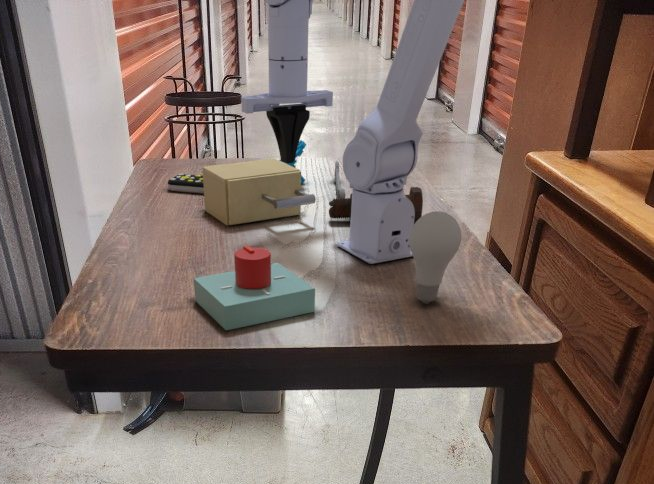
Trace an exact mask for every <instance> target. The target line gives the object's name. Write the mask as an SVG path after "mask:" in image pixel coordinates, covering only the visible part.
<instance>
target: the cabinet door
mask: <svg viewBox="0 0 654 484" xmlns="http://www.w3.org/2000/svg"><path fill="white" fill-rule="evenodd" d="M301 175H302V171H301V170H300V171H297V172H289V173H281V174H273V175H265V176H257V177H249V178H241V179H233V180H227V185H228V206H229V224H230V225H229V226H233V224H234V225H241V224H247V223H252V222H253V221H254V222H259V221H266V219H267V220H271V219H272V220H273V219H280V218H286V217H291V216H292V215H293V216H299V215H301V213H302V211H301V210H302V206H307V205H313V204H315V203H316V200H317V199H316V195H315V194H314V193H312V194H309V193H307V192H305V191H303V190H302V184H301ZM279 217H280V218H279ZM246 222H247V223H246Z"/></svg>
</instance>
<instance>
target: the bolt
mask: <svg viewBox="0 0 654 484" xmlns="http://www.w3.org/2000/svg"><path fill="white" fill-rule="evenodd" d="M349 196H350V197H345V198H342V199H341V198H340V199H339V198H338V199H337V197H336V198H335V197H334V198H333V199H332V200H331V201H329V202H328V205H329V207H330V208H329V209H328V216H329V218H331V219H334V220H337V219H339V220H340V219H341V220H342V219H349V222H350V221H351V205H352V192H351V193H350V195H349ZM405 196H406V197H407V198H408V199H409V200H410V201H411V202H412V204H413V206H414V210H415V218H414V224H415V223H416V221H417V220H418V219H419V218H420V217H422V216H423V215H422V214H423V207H424V204H423V203H424V197H423V190H422V188H420V187H418V186H410V188H409V194H405Z"/></svg>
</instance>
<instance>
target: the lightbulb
mask: <svg viewBox="0 0 654 484" xmlns="http://www.w3.org/2000/svg"><path fill="white" fill-rule="evenodd" d="M461 242H462V230H461V226H460V224H459V222H458V221H457V219H456V218H454V217H453V216H452V215H451V214H450V213H447V212H445V211H439V210H437V211H435V210H434V211H430V212H427V213H425V214H423V215H422V216H421V217H420V218H419V219H418V220H417V221H416V223H415V224H414V225H413V227H412V230H411V233H410V236H409V245H410V249H411V252H412V255H413V256H412V258H413V260H414V263H415V267H416V269H415V270H416V277H415V278H416V280H415V281H416V282H417V287H416V288H417V289H416V298H417V299H418V300H419V301H421V303H423V304H430V303H431V302H434V301H436V300H437V298H438V293H439V288H440V285H441V284H442V282H443V278H444V274H445V271H446V269H447V267H448V266H449V263H450V262H451V261H452V260H453V259H454V257H455V256H456V254H457V253H458V251H459V249H460V246H461V244H462V243H461Z"/></svg>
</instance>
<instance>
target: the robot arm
mask: <svg viewBox="0 0 654 484" xmlns="http://www.w3.org/2000/svg"><path fill="white" fill-rule="evenodd" d="M264 1H265V3H266V4H267V37H268V39H267V40H268V41H267V44H268V49H267V50H268V51H267V52H268V53H267V55H268V92H266V93H261V94H253V95H247V96H246V95H245V96H241V97H240V101H241V103H240V104H241V113H244V114H249V115H250V114H254V113H260V112H266V113H265V114H266V117H267V120H268V123H270V126H271V128H272V130H273V133H274V136H275V140H276V143H277V147H278V151H279V157H280V159H281V161H282V162H284V163H294V160H295V155H296V151H297V147H298V143H299V141H300V140H301V137H302V134H303V132H304V129H305V127H306V125H307V124H308V122H309V120H310V116H311V115H310V114H311V111H310V110H309V109H307V108H314V107H317V108H318V107H333V101H334V91H332V90H327V89H323V90H308V73H309V72H308V69H309V68H308V67H309V58H308V57H309V26H310V25H309V20H310V19H311V15H312V14H313V3H314V0H264ZM464 3H465V0H413V3H412V5H411V8H410V12H409V14H408V17H407V20H406V23H405V25H404V28H403V31H402V34H401V37H400V39H399V42H398V45H397V49H396V52H395V53H394V57H393V61H391V65H390V68H389V70H388V73H387V77H386V79H385V82H384V86H383V88H382V91H381V94H380V96H379V99H378V102H377V104H376V107H375V108H374V109H373V110H372V111H371V113H369V114H368V115H367V116H366V117H365V118H364V119H363V120H362V122H360V123H359V125H358V127H357V130H356V134H354V137H353V138H352V139H351V140H350V142H349V143H347V145H346V146H345V149H344V151H343V156H342V170H343V174H344V176H345V178H346V179H345V180H347V182H348V183H349V189H352V190H351V191H352V192H351V193H352V205H351V221H350V220H349V222H350V223H349V236H348V237H349V238H348V240H343V241H338V242H337V246H338V247H339V248H341V249H342V250H344V251H346V252H348V253H350V254H352V255H353V256H355V257H357V258H359V259H360V260H362V261H364V262H366V263H367V264H370V265H374V264H380V263H384V262H389V261H395V260H400V259H405V258H411V257H413V255H412V252H411V249H410V245H409V236H410V233H411V230H412V227H413V225H414V218H415V210H414V206H413V204H412V202H411V201H410V200H409V199H408V198H407V197H406V196H405V195H406V194H405V190H404V186H405V185H407V179H408V176H410V175H411V174H412V172H413V171H414V170H415V168H416V165H417V162H418V155H419V144H420V141H421V138H422V136H423V130H422V129H421V126H420V124H419V123H418V121H417V120H418V117H419V114H420V112H421V109H422V108H423V104H424V102H425V99H426V96H427V94H428V91H429V89H430V87H431V84H432V82H433V79H434V77H435V74H436V72H437V70H438V67H439V65H440V62H441V60H442V57H443V54H444V52H445V49H446V48H447V45H448V42H449V40H450V37H451V34H452V32H453V29H454V27H455V25H456V23H457V20H458V18H459V15H460V13H461V10H462V8H463V5H464Z"/></svg>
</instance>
